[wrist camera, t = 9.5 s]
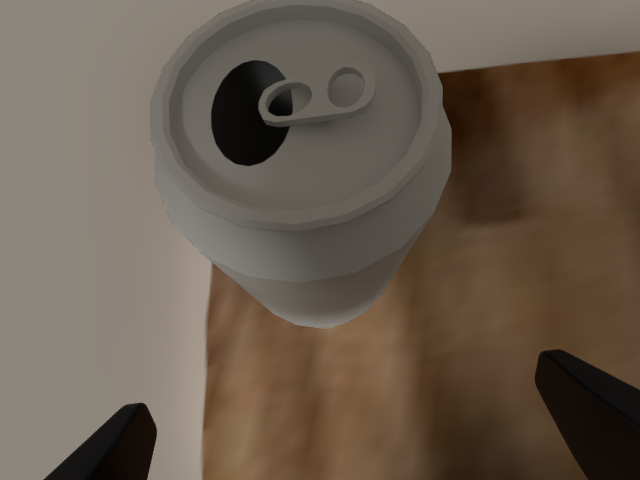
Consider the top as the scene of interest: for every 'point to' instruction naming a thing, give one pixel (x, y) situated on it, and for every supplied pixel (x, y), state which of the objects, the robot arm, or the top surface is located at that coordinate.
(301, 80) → the can
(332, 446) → the top surface
